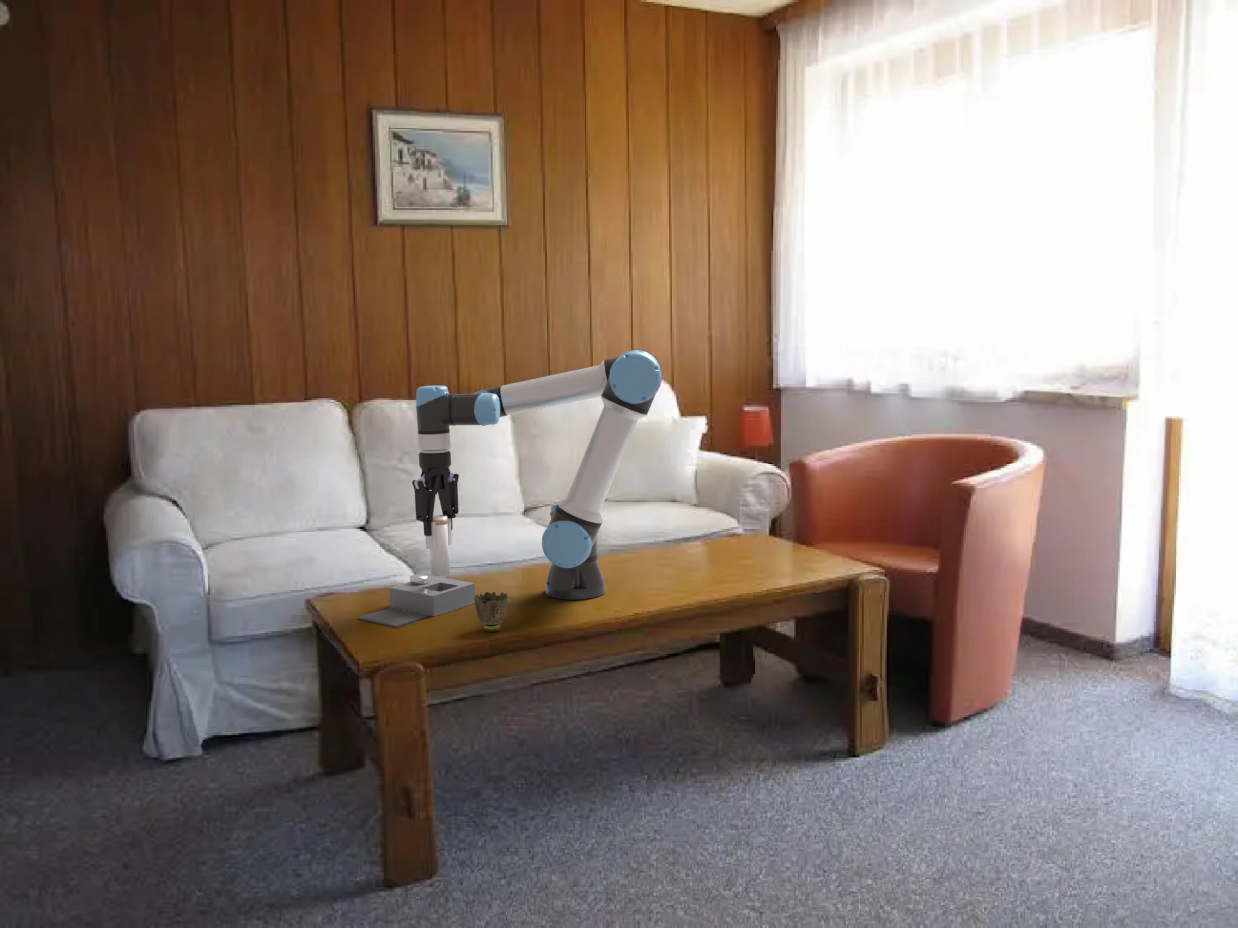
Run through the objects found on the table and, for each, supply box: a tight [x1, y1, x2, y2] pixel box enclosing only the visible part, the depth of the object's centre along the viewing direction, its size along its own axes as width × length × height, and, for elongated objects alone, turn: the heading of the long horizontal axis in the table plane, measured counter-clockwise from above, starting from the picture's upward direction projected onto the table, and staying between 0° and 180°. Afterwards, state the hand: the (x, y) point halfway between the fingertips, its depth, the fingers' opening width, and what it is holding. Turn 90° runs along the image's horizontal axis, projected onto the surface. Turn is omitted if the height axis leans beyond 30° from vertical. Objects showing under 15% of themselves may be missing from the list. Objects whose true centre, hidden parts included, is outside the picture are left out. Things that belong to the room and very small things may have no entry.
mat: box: [357, 607, 429, 629], centre depth 248 cm, size 13×10×1 cm
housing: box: [388, 575, 476, 618], centre depth 258 cm, size 15×14×5 cm
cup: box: [474, 591, 509, 633], centre depth 236 cm, size 8×7×8 cm
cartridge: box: [429, 514, 451, 577], centre depth 254 cm, size 5×5×14 cm
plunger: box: [409, 573, 429, 585], centre depth 260 cm, size 4×4×6 cm
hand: (439, 546), depth 254 cm, fingers closed on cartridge, 4 cm apart
